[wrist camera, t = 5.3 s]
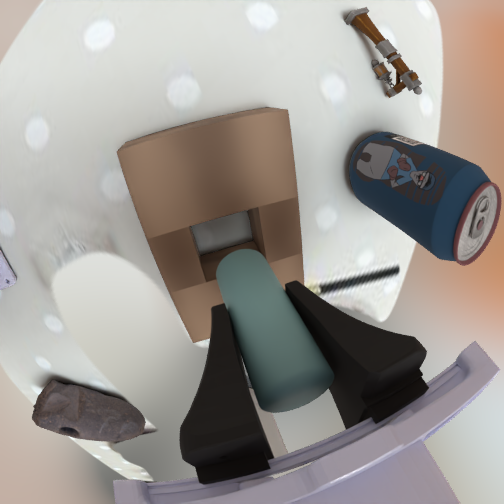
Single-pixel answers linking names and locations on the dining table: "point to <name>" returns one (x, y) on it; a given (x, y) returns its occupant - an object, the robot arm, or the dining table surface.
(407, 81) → the brown long banded part
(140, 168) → the hole block
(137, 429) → the perforated stone tool
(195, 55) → the dining table surface
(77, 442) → the dining table surface
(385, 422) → the robot arm
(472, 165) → the soda can
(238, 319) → the peg
